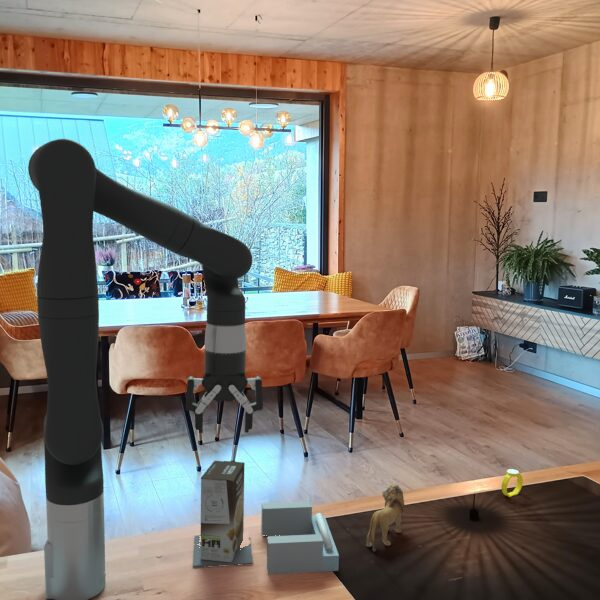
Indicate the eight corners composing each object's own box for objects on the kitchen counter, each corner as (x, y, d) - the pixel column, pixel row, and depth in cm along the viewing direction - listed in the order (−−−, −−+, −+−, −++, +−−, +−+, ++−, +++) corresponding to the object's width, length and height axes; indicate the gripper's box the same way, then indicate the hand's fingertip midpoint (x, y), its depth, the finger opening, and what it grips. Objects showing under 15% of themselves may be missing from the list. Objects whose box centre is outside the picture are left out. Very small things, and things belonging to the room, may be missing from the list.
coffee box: (233, 563, 120) (233, 481, 117) (199, 560, 120) (199, 478, 118) (244, 538, 129) (245, 461, 126) (213, 535, 130) (213, 459, 127)
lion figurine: (382, 518, 139) (384, 479, 138) (406, 524, 137) (408, 483, 136) (361, 551, 126) (363, 507, 125) (388, 557, 124) (390, 513, 123)
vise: (267, 574, 117) (268, 543, 116) (261, 530, 133) (261, 503, 132) (338, 570, 119) (339, 540, 118) (323, 528, 134) (324, 500, 134)
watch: (508, 501, 150) (508, 477, 149) (498, 496, 152) (499, 472, 151) (525, 493, 153) (525, 470, 152) (515, 489, 155) (516, 466, 154)
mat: (192, 567, 119) (192, 565, 119) (194, 537, 129) (194, 535, 129) (252, 564, 120) (252, 562, 120) (249, 535, 131) (249, 533, 131)
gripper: (185, 351, 115) (184, 439, 117) (265, 351, 117) (263, 438, 119) (187, 342, 122) (186, 425, 124) (262, 343, 124) (260, 424, 126)
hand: (223, 431), depth 121 cm, fingers open, 8 cm apart
